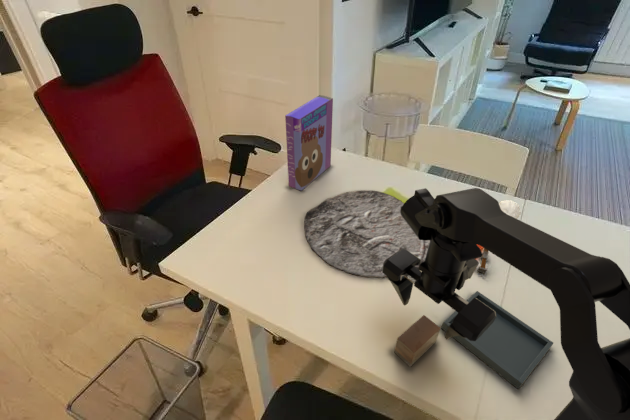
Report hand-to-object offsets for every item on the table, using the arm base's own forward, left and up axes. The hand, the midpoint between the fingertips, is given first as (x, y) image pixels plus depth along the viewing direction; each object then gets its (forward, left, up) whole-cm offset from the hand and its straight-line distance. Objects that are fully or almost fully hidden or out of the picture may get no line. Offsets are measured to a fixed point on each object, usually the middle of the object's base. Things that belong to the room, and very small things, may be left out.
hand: (425, 319), depth 67 cm
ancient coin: (+30, -18, -10) cm, 37 cm away
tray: (-9, -14, -10) cm, 19 cm away
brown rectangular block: (0, 0, -10) cm, 10 cm away
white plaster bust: (+6, -44, -10) cm, 46 cm away
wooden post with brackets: (+4, -31, -10) cm, 33 cm away
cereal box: (+61, -23, -10) cm, 66 cm away
